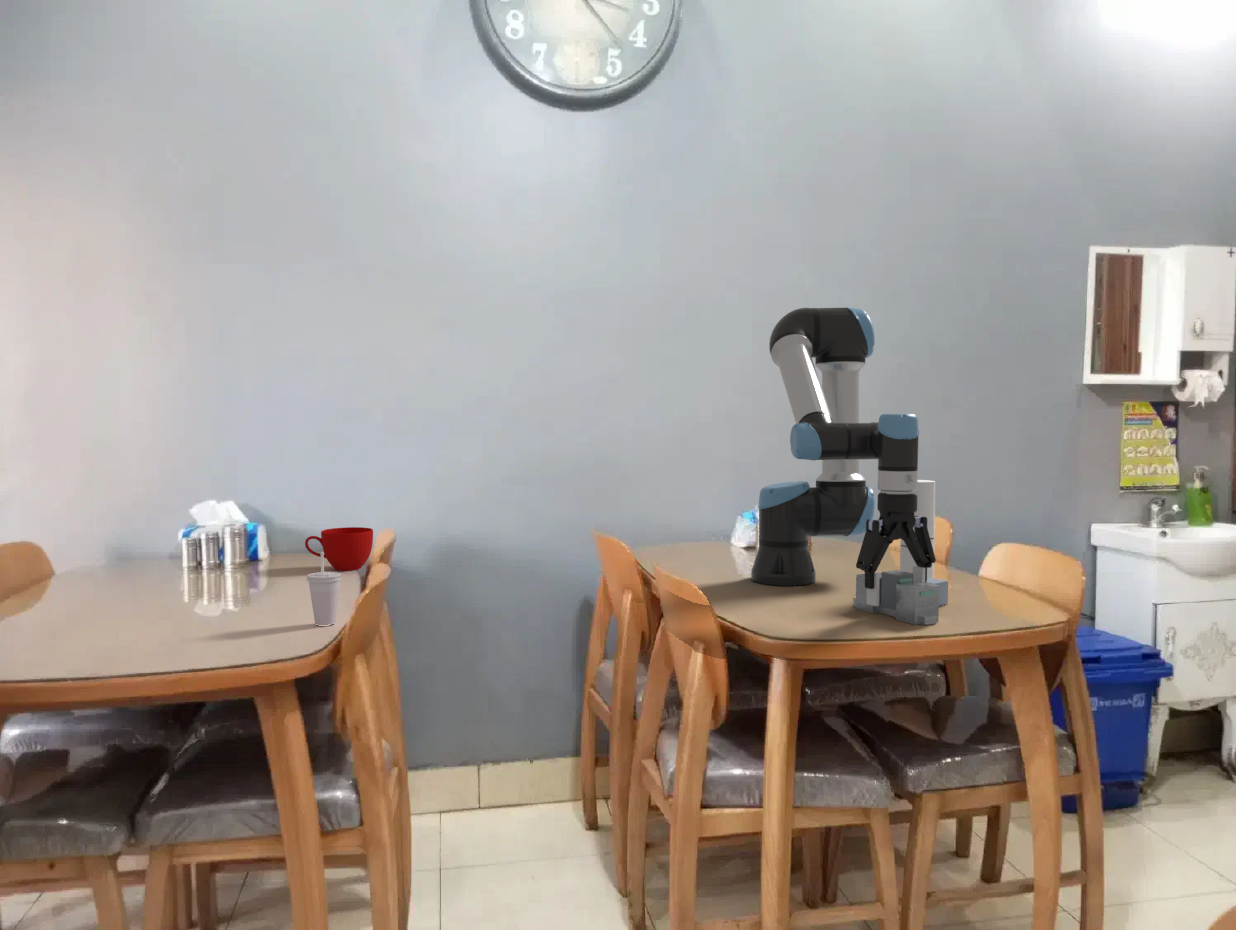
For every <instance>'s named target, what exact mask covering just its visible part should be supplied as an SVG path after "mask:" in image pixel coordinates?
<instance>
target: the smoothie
mask: <svg viewBox="0 0 1236 930" xmlns="http://www.w3.org/2000/svg"><path fill="white" fill-rule="evenodd" d="M320 554H321V557H320V571H318V572H313V573H309V574H307V575H306V582H308V587H309V591H310V599H311V604H312V612H313V613H312V614H313V619H314V625H315V624H318V625H328V624H332V623H335V624H336V622H337V621H336V620H337V613H338V611H337V610H338V601H339V595H340V594H339V593H340V583H341V580H342V573H340V572H338V571H325V558H324V551H320Z"/></svg>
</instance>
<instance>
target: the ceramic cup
mask: <svg viewBox="0 0 1236 930" xmlns="http://www.w3.org/2000/svg"><path fill="white" fill-rule="evenodd" d="M320 536H321V537H319V536H317V535H316V536H315V535H310V536H309V537H307V538H306V539H305V542H304V545H305V549H306V550H307V551H308V552H309V553H311V554H312V555H314V556H316V557H320V558H321V553H318V552H316V551H314V550H312V549H311V548H310V546H309V543H308V542H309V541H310V540H316V541H318V542H319V543H320V544H321V546H322V552H324V559H326V560H327V562H328V563H329V564H330V566H332V568H333V569H334V570H336V571H342V572H345V571H347V572H348V571H349V572H351V571H358V570H360V569H362V567H363V566H364V565H365V564H366V562H367V561H368V559H369V558H370V556H371V553H372V549H373V543H374V529H373V528H369V527H359V526H357V527H356V526H354V527H353V526H352V527H351V526H350V527H349V526H348V527H335V528H328V529H323V530H321V532H320Z"/></svg>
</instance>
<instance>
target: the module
mask: <svg viewBox="0 0 1236 930" xmlns="http://www.w3.org/2000/svg"><path fill="white" fill-rule="evenodd" d="M881 573H882V585H881V607H884V608H888V609H892V610H896V587H897V584H901V583H910V582H913V574H912V573H908V572H903V571H900V570H898V569H895V570H888V571H881Z"/></svg>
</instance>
